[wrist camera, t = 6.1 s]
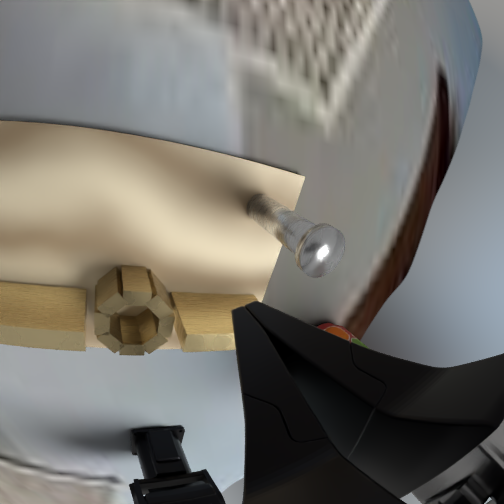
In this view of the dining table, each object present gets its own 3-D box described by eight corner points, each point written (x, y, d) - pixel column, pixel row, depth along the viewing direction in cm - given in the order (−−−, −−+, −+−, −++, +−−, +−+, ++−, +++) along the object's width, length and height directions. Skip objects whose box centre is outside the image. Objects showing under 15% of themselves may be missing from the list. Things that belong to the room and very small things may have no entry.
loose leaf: (86, 306, 18) (85, 351, 14) (-10, 298, 14) (-27, 339, 10) (86, 288, 17) (83, 332, 14) (-13, 280, 14) (-34, 319, 10)
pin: (269, 227, 22) (333, 278, 16) (236, 222, 21) (293, 276, 14) (281, 192, 21) (352, 232, 15) (247, 184, 20) (313, 223, 14)
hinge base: (242, 326, 25) (267, 363, 21) (94, 324, 19) (95, 371, 15) (260, 275, 24) (291, 309, 20) (96, 262, 17) (94, 304, 13)
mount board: (242, 341, 27) (245, 346, 27) (-16, 329, 15) (-17, 334, 15) (300, 175, 22) (305, 177, 21) (-25, 120, 10) (-29, 120, 9)
